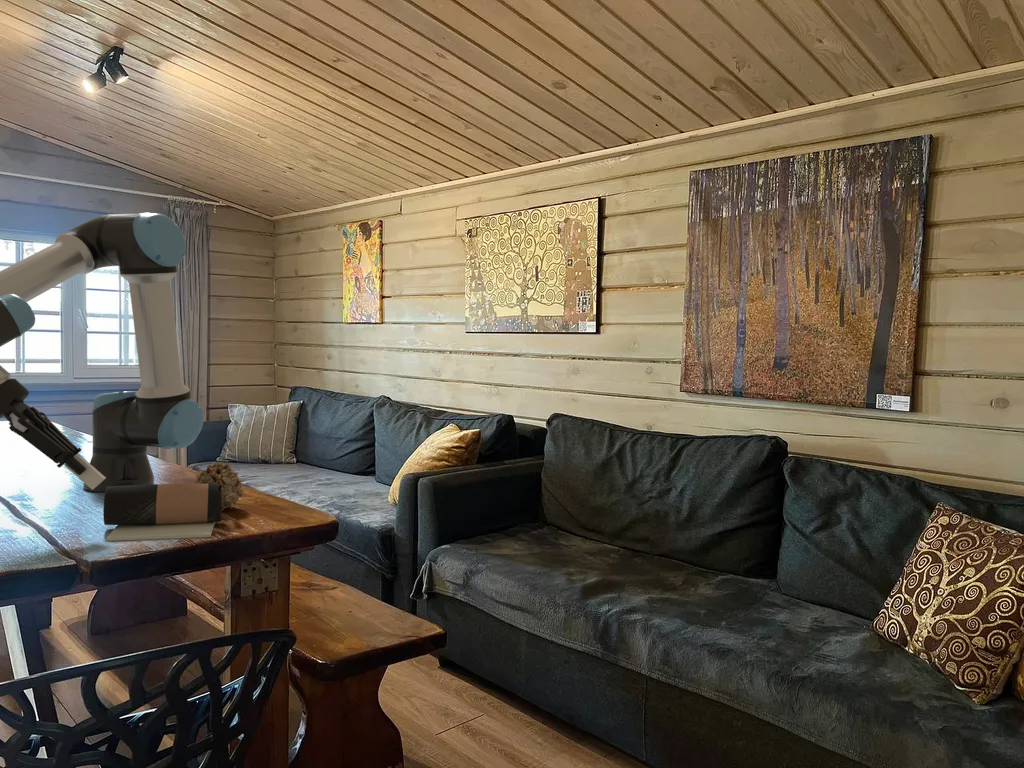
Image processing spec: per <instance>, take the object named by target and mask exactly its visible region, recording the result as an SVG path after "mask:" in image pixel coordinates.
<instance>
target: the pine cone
mask: <svg viewBox="0 0 1024 768" xmlns="http://www.w3.org/2000/svg"><path fill="white" fill-rule="evenodd" d="M238 476H239V472H236V471H235V469H234V468H233V467H231V466H230V463H224V464H223V463H222V461H221V462H219V461H218V462H216V461H215V462H214V463H213V464H212V465H211V464H210V463H209V464H208V466H206V469H205V470H201V469H199V474H197V475H195V478H196V481H194V484H222V488H221V495H222V503H221V513H222V512H223V511H224V510H225V509H228V508H230V509H232V510H233V505H234V506H238V505H237V503H238V500H239V499H240V498H243V497H244V495H243V493H244V492H245V490H244V489H242V487H243V486H244V484H243V483H242V480H243V479H242V478H241V477H238Z"/></svg>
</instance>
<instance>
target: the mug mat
mask: <svg viewBox="0 0 1024 768" xmlns="http://www.w3.org/2000/svg"><path fill="white" fill-rule="evenodd" d="M215 525H216V522H203V523H182V524H160V525H157V524H155V525H115V527H114V528H113V530H112V531H111V532H110V533H109V534H108V536H106V542H110V541H111V542H112V541H113V542H114V541H139V540H140V541H141V540H163V539H165V540H168V539H169V540H170V539H193V538H211V537H212V533H213V530H214V527H215Z"/></svg>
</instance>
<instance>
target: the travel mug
mask: <svg viewBox="0 0 1024 768" xmlns="http://www.w3.org/2000/svg"><path fill="white" fill-rule="evenodd" d="M221 488H222V484H196V483H158V484H157V483H154V484H151V485H129V486H110V487H107V488H106V490H105V492H104V498H103V523H104V525H105V526H117V525H155V524H157V525H160V524H182V523H203V522H215V523H218V522H221V521H222V512H221V503H222V495H221Z"/></svg>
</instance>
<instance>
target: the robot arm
mask: <svg viewBox="0 0 1024 768" xmlns="http://www.w3.org/2000/svg"><path fill="white" fill-rule="evenodd" d="M186 245H187V244H186V239H185V235H184V233H183V231H182V229H181V228H180V226H179V225H178V224H177V223H176V222H175V221H174V220H173V219H172V218H171V217H169V216H167V215H165V214H162V213H155V212H152V213H151V212H141V213H140V212H137V213H135V212H134V213H120V214H119V213H118V214H117V213H111V214H110V213H109V214H104V215H100V216H98V217H94V218H92V219H90V220H87V221H86V222H83V223H81V224H79V225H77V226H75V227H73V228H72V229H70V230H67V231H65V232H63V233H61V234H59V235H58V236H57V237H56V239H55V241H54V243H53V244H51V245H49V246H47V247H45V248H43V249H42V250H40V251H38V252H35V253H34V254H31V255H29V256H27V257H26V258H25V257H24V259H21V260H20V261H17V262H15V263H14V264H12V265H10V266H8V267H6V268H3V269H2V270H0V348H1V347H3V346H5V345H7V344H8V343H11V341H14V339H17V338H20V337H22V335H23V334H25V333H26V332H28V331H29V330H31V329H32V328H33V327H34V326H35V323H36V315H35V313H34V311H33V310H32V307H31V305H29V303H28V302H30V301H32V300H33V299H35V298H36V297H39V296H41V295H42V294H44V293H45V292H47V291H50V290H51V289H52V288H55V287H56V286H58V285H60V284H62V283H64V282H65V281H67V280H69V279H71V278H73V277H74V276H76V275H78V274H80V275H88V274H89V273H91V272H93V271H95V270H98V269H100V268H101V269H102V268H108V267H118V268H119V274H120V276H121V277H122V278H123V279H124V280H126V282H128V286H129V294H130V295H129V296H130V302H131V310H132V320H133V327H134V335H135V343H136V351H137V352H136V353H137V361H138V370H139V377H140V385H141V386H140V388H139V389H138V390H129V391H116V392H105V393H104V392H103V393H99V394H97V395H96V396H95V397H94V399H93V408H92V410H91V411H92V455H91V456H92V457H91V459H90V461H87V459H86V458H84V457H83V456H82V455H81V454H80V452H81V451H82V448H80V447H77V445H75V444H74V443H73V442H72V441H71V440H70V439H69V438H68V437H67V436H66V435H65V434H64V433H63V432H62V431H61V430H60V429H59V428H58V427H57V426H56V425H55V424H54V423H53V422H52V421H51V420H50V419H49V417H48V416H47V415H46V413H45V412H42V411H39V410H38V409H36V407H34V406H31V407H30V406H29V405H28V404H26V403H25V402H24V400H26V399H27V398H28V396H29V394H30V391H29V390H28V389H27V387H25V386H24V385H23V384H21V382H20V381H18V380H17V379H16V378H11V373H10V372H9V371H7V370H6V369H5V368H4V367H3V366H2V365H1V364H0V419H2V418H3V417H4V418H5V419H6V420H7V422H9V423H8V424H9V427H8V428H9V430H10V431H11V432H13V433H15V434H16V435H18V436H20V437H21V438H22V439H24V440H25V441H27V442H28V443H29V444H30V445H32V446H33V447H34V448H36V449H37V450H38V451H39V452H41V453H42V454H43V455H44V456H46V457H47V458H49V459H50V460H51V461H53V463H55V464H57V465H56V466H57V468H62V467H63V466H64V467H66V469H68V470H69V471H70V472H71V473H72V474H74V475H75V476H76V477H77V478H79V480H80V481H82V483H83V489H84V490H86V491H92V492H102V493H103V492H104V493H105V490H106V488H107V487H110V486H129V485H151V484H155V476H154V472H153V469H152V466H151V463H150V460H149V457H148V454H147V453H148V447H152V448H163V449H164V450H171V449H183V448H184V449H185V448H187V447H188V446H190V445H191V444H193V443H194V442H195V441H196V439H197V438H198V435H200V433H201V431H202V429H203V426H204V416H205V415H204V410H203V408H202V406H201V405H199V402H197V401H195V400H194V399H192V398H191V390H190V388H189V387H188V386H187V385H185V384H184V383H183V381H182V380H183V379H182V374H181V373H182V371H181V363H180V355H179V353H180V352H179V346H178V336H177V335H178V334H177V327H176V319H175V318H176V317H175V310H174V309H175V308H174V301H173V300H174V298H173V291H172V279H173V278H174V277H175V276H176V275H177V274H178V270H177V269H178V268H177V265H179V264H180V263H182V261H183V260H184V256H185V255H186V251H187V246H186Z"/></svg>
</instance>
